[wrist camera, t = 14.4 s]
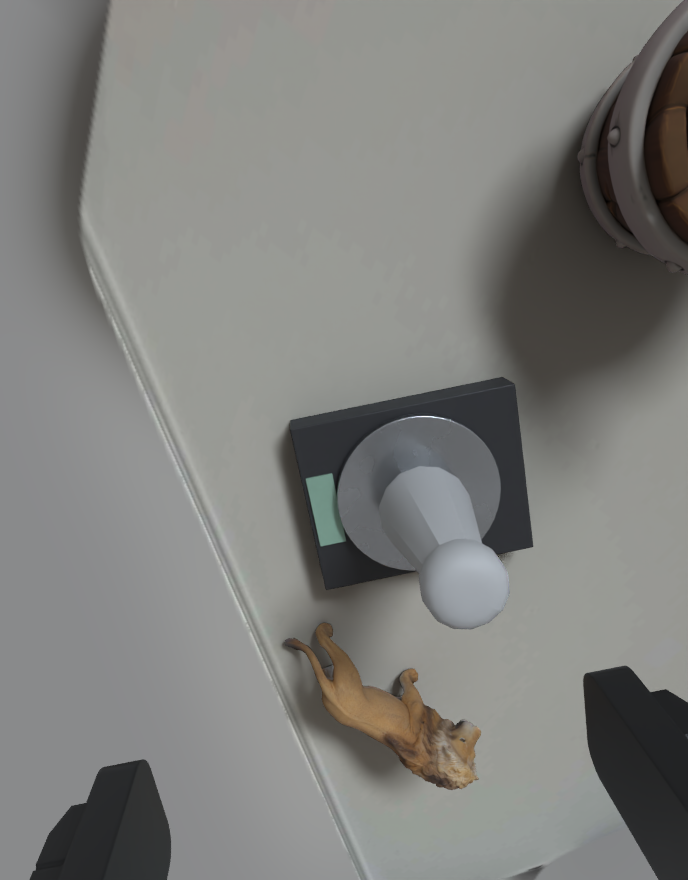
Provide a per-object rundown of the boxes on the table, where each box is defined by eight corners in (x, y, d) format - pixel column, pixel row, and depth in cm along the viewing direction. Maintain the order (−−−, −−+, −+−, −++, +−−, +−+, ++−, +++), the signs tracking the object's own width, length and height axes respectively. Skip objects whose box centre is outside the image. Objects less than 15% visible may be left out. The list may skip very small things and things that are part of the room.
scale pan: (352, 580, 45) (353, 585, 44) (321, 431, 41) (322, 434, 41) (506, 547, 45) (509, 553, 44) (487, 397, 42) (490, 400, 41)
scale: (324, 573, 47) (326, 592, 45) (290, 419, 44) (289, 430, 41) (521, 532, 48) (534, 548, 45) (503, 376, 44) (516, 384, 42)
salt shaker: (391, 549, 43) (431, 668, 31) (361, 475, 42) (391, 569, 29) (472, 518, 43) (545, 625, 31) (445, 442, 41) (511, 523, 29)
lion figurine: (467, 673, 51) (503, 758, 42) (436, 725, 52) (465, 819, 43) (298, 609, 48) (299, 687, 39) (269, 666, 49) (265, 753, 40)
